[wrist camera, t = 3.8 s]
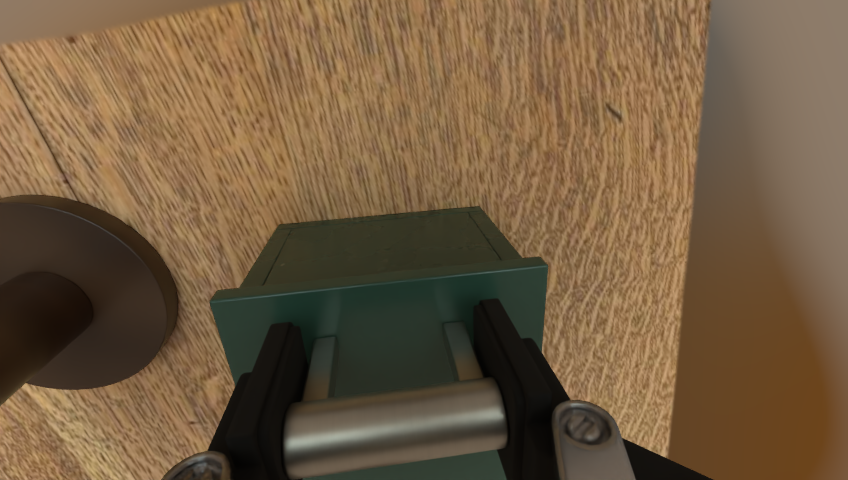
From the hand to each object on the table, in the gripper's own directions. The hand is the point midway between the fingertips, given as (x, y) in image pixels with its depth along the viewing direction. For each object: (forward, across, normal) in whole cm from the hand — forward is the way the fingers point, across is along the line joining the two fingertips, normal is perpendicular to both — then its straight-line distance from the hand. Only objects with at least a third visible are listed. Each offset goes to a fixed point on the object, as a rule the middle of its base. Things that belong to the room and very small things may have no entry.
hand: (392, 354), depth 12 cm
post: (+9, +16, +1) cm, 18 cm away
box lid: (+1, 0, +4) cm, 5 cm away
